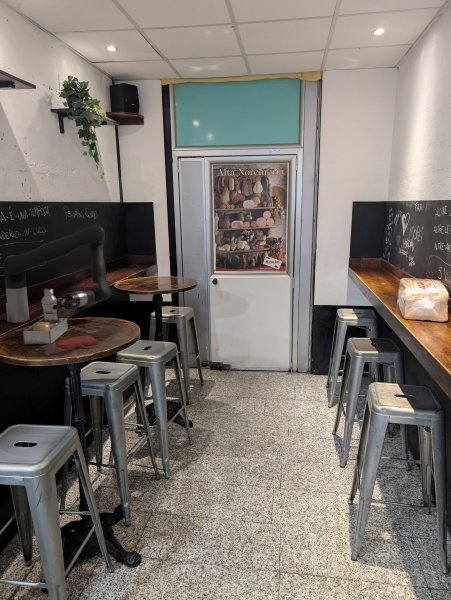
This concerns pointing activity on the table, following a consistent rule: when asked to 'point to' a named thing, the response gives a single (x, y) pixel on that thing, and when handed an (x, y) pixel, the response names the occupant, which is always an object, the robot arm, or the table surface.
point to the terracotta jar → (41, 326)
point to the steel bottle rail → (45, 333)
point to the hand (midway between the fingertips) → (47, 306)
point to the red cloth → (76, 342)
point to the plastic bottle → (49, 307)
